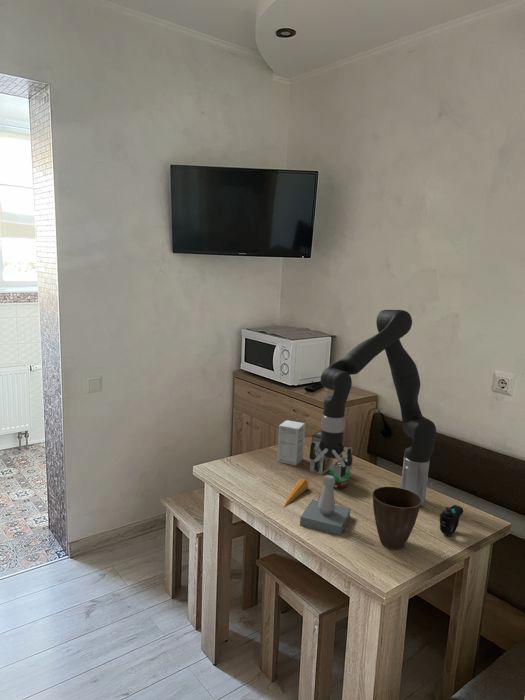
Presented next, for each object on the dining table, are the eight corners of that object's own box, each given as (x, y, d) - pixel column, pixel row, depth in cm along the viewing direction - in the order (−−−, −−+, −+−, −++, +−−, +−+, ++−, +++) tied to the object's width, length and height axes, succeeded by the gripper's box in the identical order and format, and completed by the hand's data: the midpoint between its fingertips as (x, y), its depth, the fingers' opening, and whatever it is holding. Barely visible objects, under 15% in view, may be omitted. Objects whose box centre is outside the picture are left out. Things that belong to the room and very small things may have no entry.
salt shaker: (324, 517, 171) (327, 481, 168) (314, 510, 176) (317, 474, 173) (338, 514, 174) (341, 478, 171) (328, 507, 178) (331, 472, 176)
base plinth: (349, 516, 179) (350, 508, 178) (340, 535, 166) (341, 526, 166) (311, 507, 184) (312, 499, 183) (299, 525, 171) (300, 516, 171)
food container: (341, 493, 196) (343, 469, 195) (327, 488, 200) (329, 464, 198) (356, 483, 206) (358, 460, 204) (342, 479, 210) (344, 456, 208)
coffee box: (319, 464, 224) (322, 429, 221) (332, 468, 220) (335, 432, 217) (309, 470, 216) (311, 434, 214) (322, 474, 213) (325, 438, 210)
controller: (435, 536, 169) (438, 508, 167) (450, 524, 178) (453, 497, 176) (447, 542, 166) (451, 513, 164) (462, 528, 175) (466, 501, 173)
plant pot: (358, 538, 165) (362, 492, 162) (389, 526, 173) (393, 482, 171) (394, 561, 153) (399, 512, 150) (425, 547, 162) (431, 500, 159)
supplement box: (303, 459, 229) (306, 423, 226) (296, 466, 220) (299, 428, 217) (283, 454, 232) (286, 419, 229) (276, 461, 224) (278, 425, 221)
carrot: (301, 488, 201) (297, 477, 201) (311, 487, 199) (307, 476, 198) (279, 514, 184) (275, 502, 184) (290, 512, 182) (286, 501, 181)
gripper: (356, 428, 170) (352, 473, 173) (315, 421, 175) (312, 466, 178) (351, 435, 163) (348, 482, 166) (309, 428, 168) (306, 474, 171)
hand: (329, 473), depth 172 cm, fingers open, 8 cm apart
